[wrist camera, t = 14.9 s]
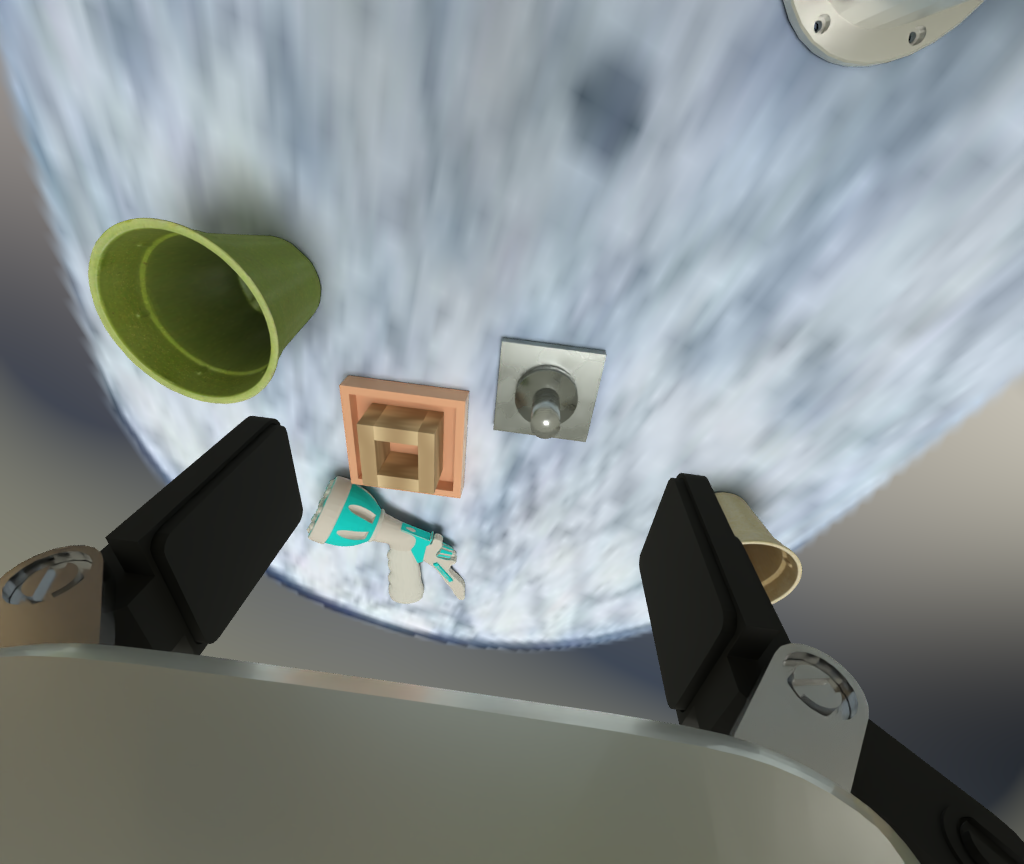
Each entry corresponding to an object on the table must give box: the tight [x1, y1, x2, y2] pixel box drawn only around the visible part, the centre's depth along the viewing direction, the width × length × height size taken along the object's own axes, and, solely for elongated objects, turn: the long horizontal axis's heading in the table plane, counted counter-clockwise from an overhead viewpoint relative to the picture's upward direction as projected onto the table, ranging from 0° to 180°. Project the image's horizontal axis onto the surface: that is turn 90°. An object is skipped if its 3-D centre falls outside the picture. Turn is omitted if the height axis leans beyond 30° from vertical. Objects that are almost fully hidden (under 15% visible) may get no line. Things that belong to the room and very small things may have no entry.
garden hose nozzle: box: [307, 476, 465, 604], centre depth 51 cm, size 7×18×20 cm
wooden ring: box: [357, 403, 444, 494], centre depth 42 cm, size 7×7×4 cm
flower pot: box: [715, 492, 802, 604], centre depth 43 cm, size 9×9×9 cm
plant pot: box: [88, 218, 321, 404], centre depth 32 cm, size 12×12×11 cm
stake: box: [493, 338, 606, 442], centre depth 38 cm, size 9×9×6 cm
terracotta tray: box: [339, 375, 469, 498], centre depth 44 cm, size 12×12×2 cm
